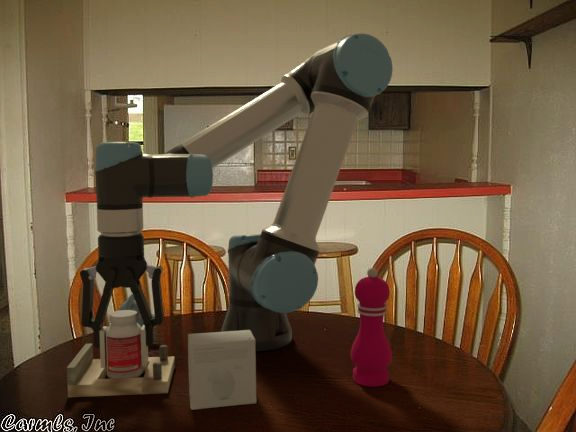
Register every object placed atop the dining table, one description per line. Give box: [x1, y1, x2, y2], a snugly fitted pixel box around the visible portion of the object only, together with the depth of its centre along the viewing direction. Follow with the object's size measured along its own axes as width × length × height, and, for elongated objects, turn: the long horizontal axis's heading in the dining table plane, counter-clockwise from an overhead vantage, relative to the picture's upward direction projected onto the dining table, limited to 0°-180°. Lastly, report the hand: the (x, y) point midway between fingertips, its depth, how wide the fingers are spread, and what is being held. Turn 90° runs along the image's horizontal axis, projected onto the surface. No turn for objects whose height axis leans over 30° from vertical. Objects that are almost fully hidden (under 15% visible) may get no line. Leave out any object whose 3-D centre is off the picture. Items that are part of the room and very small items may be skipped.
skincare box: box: [187, 330, 257, 411], centre depth 90 cm, size 10×6×10 cm, turn 102°
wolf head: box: [117, 293, 155, 327], centre depth 119 cm, size 6×9×10 cm
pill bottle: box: [105, 310, 144, 379], centre depth 97 cm, size 6×6×11 cm
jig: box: [66, 343, 176, 398], centre depth 97 cm, size 16×12×5 cm
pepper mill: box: [350, 267, 393, 388], centre depth 97 cm, size 7×7×20 cm
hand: (125, 363), depth 97 cm, fingers closed on pill bottle, 6 cm apart
